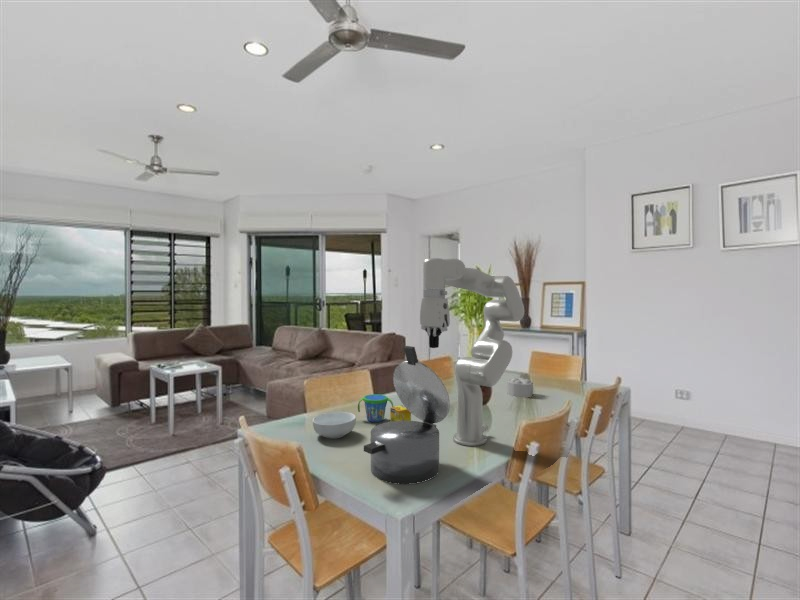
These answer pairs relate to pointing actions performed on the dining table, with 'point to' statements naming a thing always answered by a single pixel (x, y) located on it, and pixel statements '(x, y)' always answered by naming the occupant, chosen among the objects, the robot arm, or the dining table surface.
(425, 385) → the lid
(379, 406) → the snack cup
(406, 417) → the supplement box
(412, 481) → the cooker
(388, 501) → the dining table surface
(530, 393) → the lumpy-topped squat cylinder
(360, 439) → the dining table surface
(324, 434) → the cereal bowl
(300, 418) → the dining table surface
